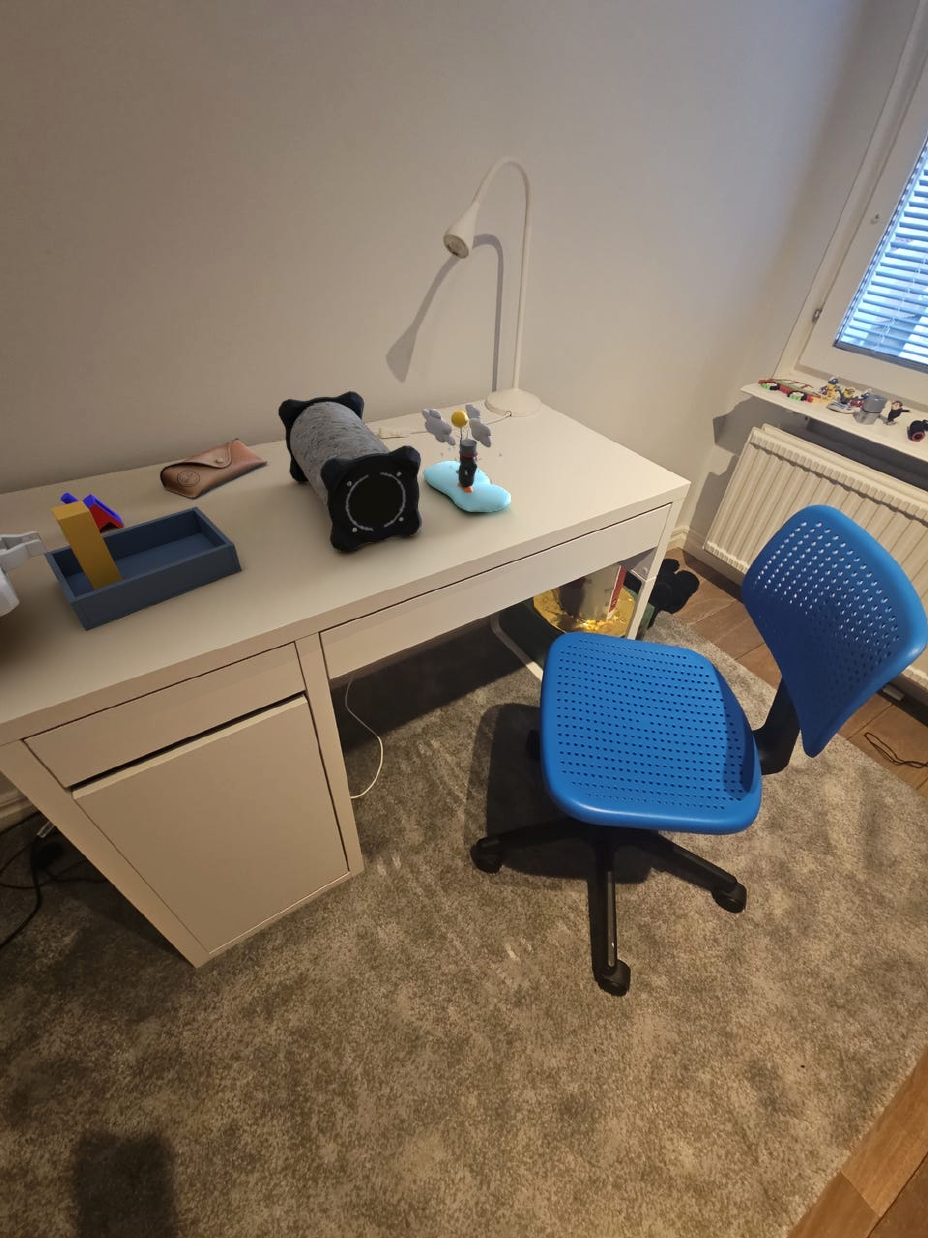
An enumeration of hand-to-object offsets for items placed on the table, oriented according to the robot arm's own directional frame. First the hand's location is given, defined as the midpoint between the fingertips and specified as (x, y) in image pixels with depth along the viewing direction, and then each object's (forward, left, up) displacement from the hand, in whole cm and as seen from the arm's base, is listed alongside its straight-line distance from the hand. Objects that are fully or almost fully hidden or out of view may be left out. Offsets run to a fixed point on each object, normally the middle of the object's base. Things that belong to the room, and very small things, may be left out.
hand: (42, 540), depth 66 cm
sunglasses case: (+30, +24, -10) cm, 39 cm away
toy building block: (+8, +18, -10) cm, 22 cm away
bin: (+10, 0, -10) cm, 14 cm away
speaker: (+43, -1, -10) cm, 44 cm away
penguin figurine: (+62, -9, -10) cm, 63 cm away
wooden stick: (+4, 0, -9) cm, 10 cm away
